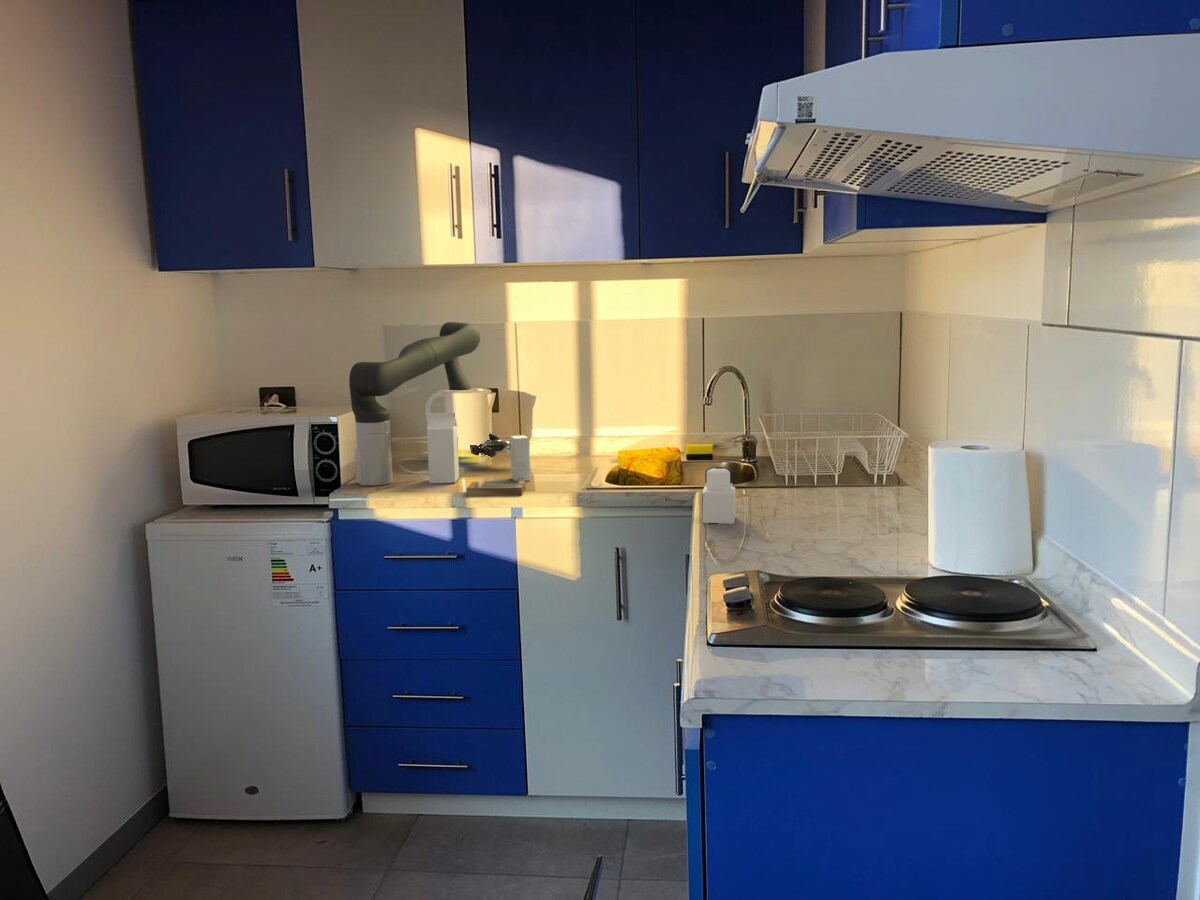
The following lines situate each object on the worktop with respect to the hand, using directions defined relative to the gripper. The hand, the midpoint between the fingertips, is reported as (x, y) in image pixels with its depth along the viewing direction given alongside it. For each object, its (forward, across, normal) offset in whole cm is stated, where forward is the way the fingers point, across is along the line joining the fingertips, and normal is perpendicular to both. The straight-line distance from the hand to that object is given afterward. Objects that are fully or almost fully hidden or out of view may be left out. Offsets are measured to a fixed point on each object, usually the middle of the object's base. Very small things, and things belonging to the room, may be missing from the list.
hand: (504, 450), depth 299 cm
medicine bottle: (+82, +17, +7) cm, 85 cm away
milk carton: (+2, -19, +7) cm, 20 cm away
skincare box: (+11, 0, +7) cm, 13 cm away
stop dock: (+21, -10, +7) cm, 24 cm away
